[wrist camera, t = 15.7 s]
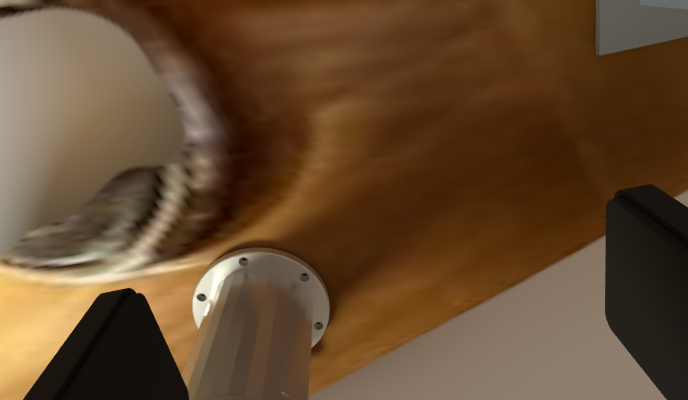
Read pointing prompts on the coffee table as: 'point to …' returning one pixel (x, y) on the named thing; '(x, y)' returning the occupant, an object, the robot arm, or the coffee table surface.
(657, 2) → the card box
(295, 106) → the coffee table surface
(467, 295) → the coffee table surface
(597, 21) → the mat
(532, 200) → the coffee table surface
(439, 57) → the coffee table surface
